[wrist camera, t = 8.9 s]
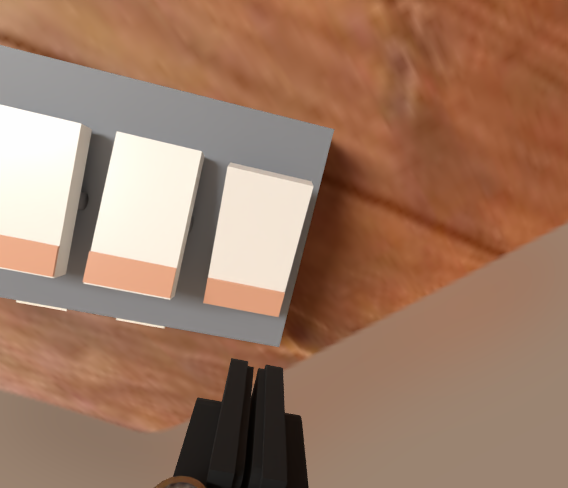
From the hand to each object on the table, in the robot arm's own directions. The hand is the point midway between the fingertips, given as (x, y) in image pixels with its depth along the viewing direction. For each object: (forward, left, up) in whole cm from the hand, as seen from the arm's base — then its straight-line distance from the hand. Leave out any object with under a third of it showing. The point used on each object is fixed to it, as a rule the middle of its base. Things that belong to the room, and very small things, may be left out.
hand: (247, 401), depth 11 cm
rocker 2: (+6, -3, -10) cm, 12 cm away
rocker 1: (+12, -3, -10) cm, 16 cm away
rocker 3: (0, -3, -10) cm, 10 cm away
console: (+6, -3, -15) cm, 17 cm away
